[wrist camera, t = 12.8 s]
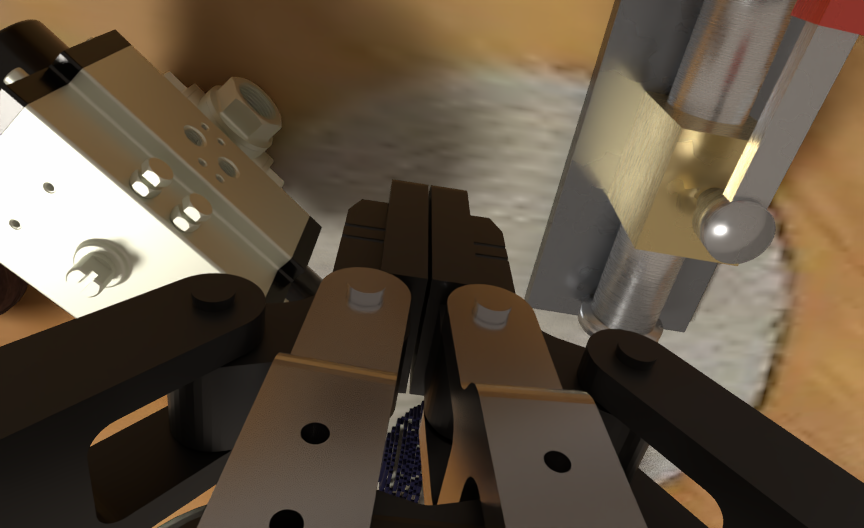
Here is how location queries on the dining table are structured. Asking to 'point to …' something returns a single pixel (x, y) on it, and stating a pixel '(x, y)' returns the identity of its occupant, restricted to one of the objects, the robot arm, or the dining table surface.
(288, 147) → the dining table surface
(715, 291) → the dining table surface
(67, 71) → the ball valve
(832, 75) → the valve lever
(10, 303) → the black ball on base
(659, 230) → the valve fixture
